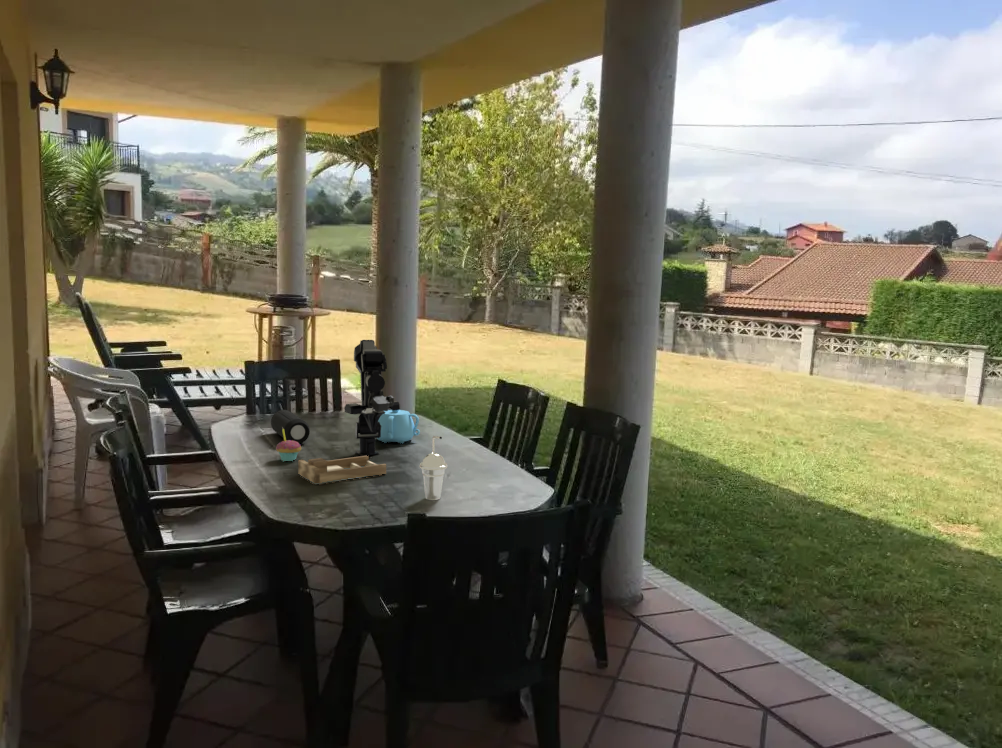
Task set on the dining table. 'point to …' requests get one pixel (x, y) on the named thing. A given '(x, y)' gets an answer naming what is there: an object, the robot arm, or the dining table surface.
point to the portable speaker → (290, 426)
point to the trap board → (341, 469)
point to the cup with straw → (433, 473)
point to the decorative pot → (397, 426)
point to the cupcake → (288, 449)
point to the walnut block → (319, 464)
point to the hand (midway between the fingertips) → (372, 431)
